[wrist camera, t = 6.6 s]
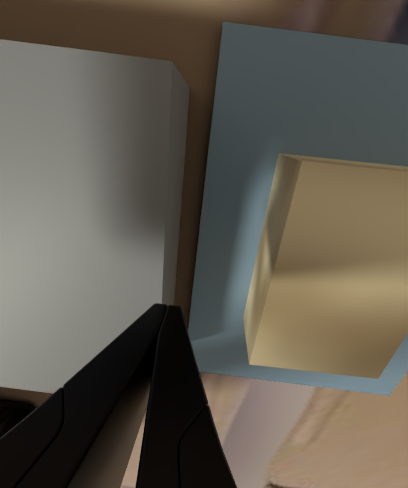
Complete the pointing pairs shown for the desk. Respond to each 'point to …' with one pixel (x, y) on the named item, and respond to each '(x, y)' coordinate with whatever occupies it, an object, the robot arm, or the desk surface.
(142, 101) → the gray deck
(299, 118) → the slate-blue mat
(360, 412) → the desk surface
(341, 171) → the maple block
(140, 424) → the robot arm
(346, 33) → the desk surface
